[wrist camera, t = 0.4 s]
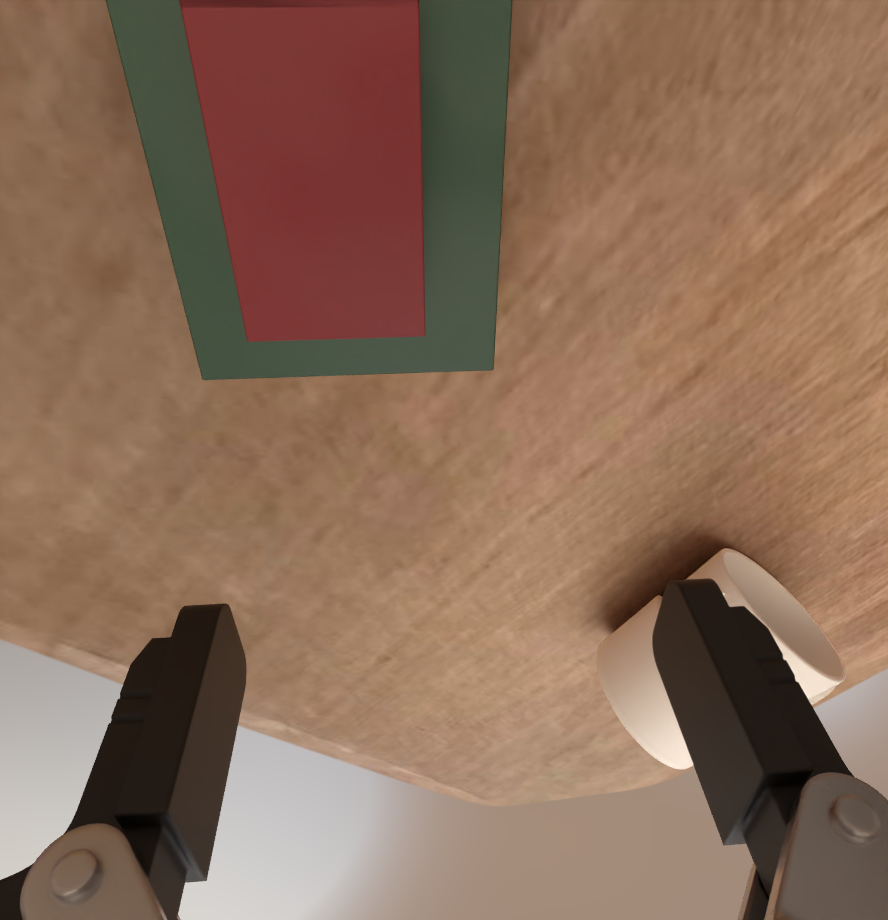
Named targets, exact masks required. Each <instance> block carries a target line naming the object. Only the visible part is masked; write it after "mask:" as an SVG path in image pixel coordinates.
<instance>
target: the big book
mask: <svg viewBox="0 0 888 920" xmlns="http://www.w3.org/2000/svg"><path fill="white" fill-rule="evenodd" d="M106 3H107V7H108V11H109V15H110V19H111V22H112V26H113V30H114V34H115V38H116V42H117V46H118V50H119V54H120V58H121V62H122V66H123V70H124V73H125V77H126V81H127V85H128V89H129V93H130V97H131V101H132V105H133V109H134V113H135V117H136V121H137V124H138V128H139V132H140V136H141V140H142V144H143V148H144V152H145V156H146V160H147V164H148V168H149V172H150V176H151V179H152V183H153V187H154V191H155V195H156V199H157V203H158V207H159V211H160V215H161V219H162V223H163V227H164V230H165V234H166V238H167V242H168V246H169V250H170V254H171V258H172V262H173V266H174V270H175V274H176V278H177V281H178V285H179V289H180V293H181V297H182V301H183V305H184V309H185V313H186V317H187V321H188V325H189V329H190V332H191V336H192V340H193V344H194V348H195V352H196V356H197V360H198V364H199V368H200V372H201V376H202V379H203V380H219V379H248V378H277V377H307V376H336V375H366V374H395V373H425V372H454V371H484V370H493V369H494V352H495V333H496V313H497V293H498V274H499V254H500V234H501V215H502V195H503V175H504V156H505V136H506V116H507V97H508V77H509V57H510V38H511V18H512V0H419V23H420V75H421V126H422V178H423V230H424V282H425V334H426V335H425V336H422V337H390V338H358V339H325V340H293V341H261V342H248V341H247V338H246V333H245V328H244V323H243V318H242V313H241V308H240V303H239V298H238V293H237V288H236V283H235V278H234V273H233V268H232V263H231V258H230V253H229V248H228V243H227V238H226V233H225V228H224V223H223V218H222V213H221V208H220V203H219V198H218V193H217V188H216V183H215V178H214V173H213V168H212V163H211V158H210V153H209V148H208V142H207V137H206V132H205V127H204V122H203V117H202V112H201V107H200V102H199V97H198V92H197V87H196V82H195V77H194V72H193V67H192V62H191V57H190V52H189V47H188V42H187V37H186V32H185V27H184V22H183V17H182V12H181V7H180V2H179V0H106Z"/></svg>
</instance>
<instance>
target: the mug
mask: <svg viewBox="0 0 888 920" xmlns="http://www.w3.org/2000/svg"><path fill="white" fill-rule="evenodd" d="M705 578H711V579H713V580H714V581H715V582H716V583H717V584H718V586H719V588H720V590H721V592H722V594H723V596H724V597H725V599H726V601H727V603H728V605H729V607H735V606H745V607H746V608H747V609H748V610H749V611H750V612H751V613H752V614H753V615H754V616H755V617H756V618H758V619H759V620H760V621H761V622H762V623H763V624H764V625H765V626H766V627H767V628H768V629H769V631H770V632H771V634H772V636H773V638H774V640H775V641H776V643H777V645H778V647H779V648H780V650H781V652H782V654H783V659H784V660H786V661H787V663H788V664H789V666H790V668H791V670H792V672H793V673H794V675H795V680H796V682H799V684H800V686H801V688H802V689H803V691H804V693H805V695H806V696H807V698H808V700H809V702H810V704H811V705H813V704H815V703H816V702H818V701H820V700H821V699H823V698H824V697H825V696H827V695H828V694H829V693H831V692H832V691H833V690H834V689H835V687H836V686H837V684H839V683H841V682H843V681H844V679H845V676H846V673H845V668H844V665H843V663H842V660H841V658H840V656H839V654H838V653H837V651H836V649H835V648H834V646H833V644H832V643H831V641H830V640H829V638H828V637H827V636H826V634H825V633H824V631H823V630H822V629H821V628H820V626H819V625H818V624H817V622H816V621H815V620H814V619H813V618H812V616H811V615H810V614H809V613H808V612H807V611H806V609H805V608H804V607H803V606H802V605H801V604H800V603H799V602H798V601H797V600H796V598H795V597H794V596H793V595H792V594H791V593H790V592H789V591H788V590H787V589H786V588H785V587H784V586H783V585H781V584H780V583H779V582H778V581H777V580H776V579H775V578H774V577H773V576H772V575H770V574H769V573H768V572H767V571H766V570H764V569H763V568H762V567H761V566H759V565H758V564H757V563H755V562H754V561H753V560H751V559H750V558H748V557H747V556H745V555H743V554H741V553H740V552H738V551H735V550H733V549H729V548H724V549H721V550H720V551H719V552H718V553H717V554H715V555H714V556H713V557H712V558H711V559H709V560H708V561H707V562H706V563H705V564H704V565H702V566H701V567H700V568H699V569H698V570H696V571H695V572H694V573H693V574H692V575H690V576H689V577H688V578H687V579H705ZM687 579H686V580H687ZM662 598H663V597H662V596H660V595H657V596H656V597H655V598H654V599H653V600H651V601H650V602H649V603H648V604H647V605H646V606H644V607H643V608H642V609H641V610H640V611H638V612H637V613H636V614H635V615H634V616H632V617H631V618H630V619H629V620H628V621H626V622H625V623H624V624H623V625H622V626H621V627H619V628H618V629H617V630H616V631H615V632H613V633H612V634H611V635H610V636H609V637H607V638H606V639H605V640H604V641H603V642H601V644H600V645H599V647H598V649H597V654H596V665H597V671H598V675H599V679H600V682H601V685H602V687H603V690H604V692H605V695H606V697H607V699H608V701H609V703H610V705H611V706H612V708H613V710H614V712H615V713H616V715H617V716H618V718H619V719H620V721H621V722H622V724H623V725H624V727H625V728H626V729H627V730H628V732H629V733H630V734H631V735H632V737H633V738H634V739H635V740H636V741H637V742H638V743H639V744H640V745H641V746H642V747H643V748H644V749H645V750H646V751H647V752H648V753H649V754H651V755H652V756H653V757H654V758H656V759H657V760H659V761H660V762H662V763H663V764H665V765H667V766H669V767H672V768H675V769H686V768H689V767H691V766H693V762H692V759H691V757H690V754H689V751H688V749H687V746H686V743H685V741H684V738H683V735H682V733H681V730H680V727H679V725H678V722H677V719H676V717H675V714H674V711H673V709H672V706H671V703H670V701H669V698H668V695H667V693H666V690H665V687H664V685H663V682H662V679H661V677H660V674H659V671H658V669H657V666H656V663H655V659H654V654H653V646H652V635H653V629H654V626H655V622H656V619H657V616H658V612H659V609H660V605H661V602H662Z"/></svg>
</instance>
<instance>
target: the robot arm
mask: <svg viewBox="0 0 888 920" xmlns="http://www.w3.org/2000/svg"><path fill="white" fill-rule="evenodd" d="M652 646H653V654H654V659H655V663H656V666H657V669H658V671H659V674H660V677H661V679H662V682H663V685H664V687H665V690H666V693H667V695H668V698H669V701H670V703H671V706H672V709H673V711H674V714H675V717H676V719H677V722H678V725H679V727H680V730H681V733H682V735H683V738H684V741H685V743H686V746H687V749H688V751H689V754H690V757H691V759H692V762H693V765H694V767H695V770H696V773H697V775H698V778H699V781H700V783H701V786H702V789H703V791H704V794H705V796H706V799H707V802H708V804H709V807H710V810H711V813H712V815H713V818H714V820H715V823H716V826H717V829H718V831H719V834H720V837H721V839H722V842H723V845H734V844H747V846H748V849H749V851H750V854H751V856H752V859H753V861H754V864H753V866H752V869H751V871H750V875H749V879H748V883H747V886H746V890H745V894H744V898H743V901H742V905H741V909H740V912H739V916H738V920H888V800H887V799H886V798H885V797H884V796H883V795H882V794H880V793H879V792H878V791H877V790H875V789H874V788H873V787H871V786H870V785H868V784H867V783H865V782H863V781H861V780H859V779H857V778H855V777H854V776H853V775H852V773H851V772H850V771H849V770H848V768H847V767H846V765H845V764H844V762H843V760H842V759H841V757H840V755H839V753H838V752H837V750H836V748H835V746H834V745H833V743H832V741H831V739H830V737H829V736H828V734H827V732H826V730H825V728H824V727H823V725H822V723H821V721H820V720H819V718H818V716H817V714H816V713H815V711H814V709H813V707H812V705H811V704H810V702H809V700H808V698H807V696H806V695H805V693H804V691H803V689H802V688H801V686H800V684H799V682H796V680H795V675H794V673H793V672H792V670H791V668H790V666H789V664H788V663H787V661H786V660H784V659H783V654H782V652H781V650H780V648H779V647H778V645H777V643H776V641H775V640H774V638H773V636H772V634H771V632H770V631H769V629H768V628H767V627H766V626H765V625H764V624H763V623H762V622H761V621H760V620H759V619H758V618H756V617H755V616H754V615H753V614H752V613H751V612H750V611H749V610H748V609H747V608H746V607H745V606H735V607H729V605H728V603H727V601H726V599H725V597H724V596H723V594H722V592H721V590H720V588H719V586H718V584H717V583H716V582H715V581H714V580H713V579H711V578H705V579H687V580H671V581H669V582H668V583H667V585H666V588H665V591H664V595H663V598H662V602H661V605H660V609H659V612H658V616H657V619H656V622H655V626H654V629H653V635H652ZM245 685H246V658H245V653H244V650H243V647H242V644H241V640H240V637H239V634H238V631H237V628H236V625H235V621H234V618H233V615H232V612H231V609H230V607H229V605H228V604H210V605H192V606H184V607H183V608H182V609H181V610H180V612H179V615H178V617H177V620H176V624H175V627H174V630H173V633H172V636H171V637H169V638H152V639H151V641H150V642H149V643H148V644H147V645H146V647H145V648H144V649H143V650H142V651H141V653H140V654H139V655H138V656H137V658H136V659H135V660H134V661H133V662H132V664H131V665H130V668H129V671H128V673H127V676H126V679H125V681H124V684H123V687H122V690H121V692H120V699H118V700H117V703H116V706H115V709H114V712H113V714H112V717H111V718H112V721H111V723H109V725H108V727H107V730H106V733H105V736H104V739H103V741H102V744H101V746H100V749H99V752H98V754H97V757H96V760H95V763H94V765H93V768H92V771H91V773H90V776H89V779H88V782H87V784H86V787H85V790H84V792H83V795H82V798H81V800H80V804H79V806H78V809H77V811H76V814H75V816H74V818H73V820H72V822H71V824H70V826H69V827H68V829H67V831H66V832H65V833H64V834H63V835H62V836H61V837H59V838H58V839H57V840H55V841H54V842H53V843H52V844H50V845H49V846H48V847H47V848H46V849H45V850H44V851H43V853H42V854H41V855H40V856H39V857H38V858H37V860H36V861H35V863H33V864H32V865H31V866H29V867H27V868H25V869H24V870H22V871H20V872H18V873H16V874H14V875H11V876H9V877H7V878H4V879H2V880H0V920H180V918H179V916H178V911H179V907H180V901H181V898H182V893H183V889H184V884H185V882H198V881H206V880H207V875H208V870H209V865H210V861H211V856H212V851H213V846H214V841H215V836H216V831H217V826H218V821H219V816H220V811H221V806H222V801H223V796H224V791H225V786H226V781H227V776H228V771H229V766H230V761H231V756H232V751H233V746H234V741H235V736H236V731H237V726H238V721H239V716H240V711H241V706H242V701H243V696H244V691H245Z"/></svg>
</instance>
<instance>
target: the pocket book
mask: <svg viewBox="0 0 888 920" xmlns="http://www.w3.org/2000/svg"><path fill="white" fill-rule="evenodd" d="M179 2H180V7H181V12H182V17H183V22H184V27H185V32H186V37H187V42H188V47H189V52H190V57H191V62H192V67H193V72H194V77H195V82H196V87H197V92H198V97H199V102H200V107H201V112H202V117H203V122H204V127H205V132H206V137H207V142H208V148H209V153H210V158H211V163H212V168H213V173H214V178H215V183H216V188H217V193H218V198H219V203H220V208H221V213H222V218H223V223H224V228H225V233H226V238H227V243H228V248H229V253H230V258H231V263H232V268H233V273H234V278H235V283H236V288H237V293H238V298H239V303H240V308H241V313H242V318H243V323H244V328H245V333H246V338H247V341H248V342H261V341H293V340H325V339H358V338H390V337H422V336H425V335H426V334H425V282H424V230H423V178H422V126H421V75H420V23H419V0H179Z"/></svg>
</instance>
